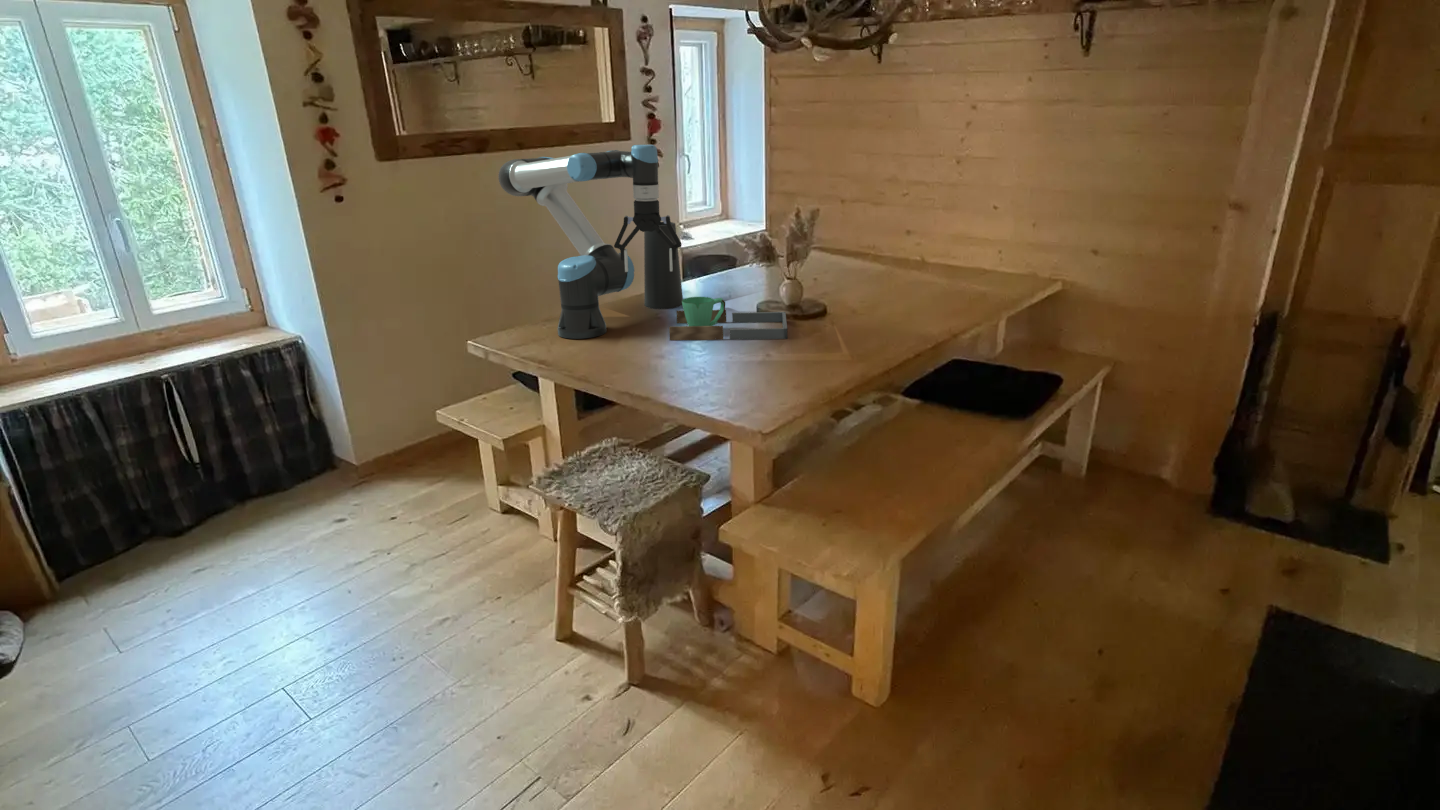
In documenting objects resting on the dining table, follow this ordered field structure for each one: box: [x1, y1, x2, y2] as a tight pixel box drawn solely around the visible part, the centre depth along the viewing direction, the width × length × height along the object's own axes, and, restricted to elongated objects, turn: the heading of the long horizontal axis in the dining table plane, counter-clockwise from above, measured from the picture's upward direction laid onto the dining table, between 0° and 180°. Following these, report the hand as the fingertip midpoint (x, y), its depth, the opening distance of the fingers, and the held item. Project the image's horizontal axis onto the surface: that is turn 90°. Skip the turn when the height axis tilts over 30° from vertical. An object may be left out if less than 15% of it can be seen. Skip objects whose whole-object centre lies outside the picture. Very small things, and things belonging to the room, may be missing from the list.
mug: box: [681, 296, 726, 326], centre depth 245 cm, size 15×10×10 cm
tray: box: [729, 311, 788, 341], centre depth 245 cm, size 17×22×3 cm
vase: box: [643, 221, 684, 310], centre depth 275 cm, size 14×14×29 cm
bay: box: [668, 309, 727, 341], centre depth 246 cm, size 16×22×4 cm
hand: (648, 270), depth 242 cm, fingers open, 13 cm apart
